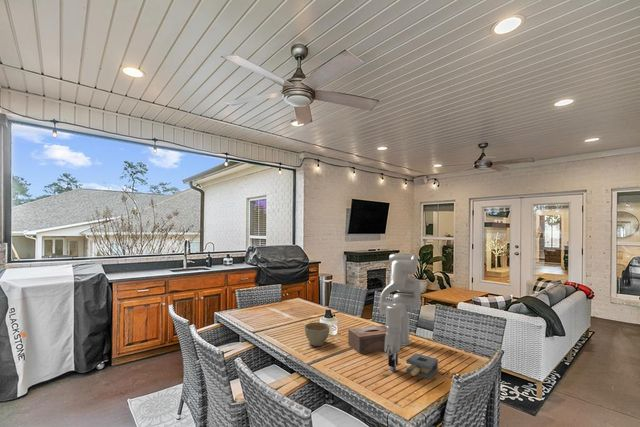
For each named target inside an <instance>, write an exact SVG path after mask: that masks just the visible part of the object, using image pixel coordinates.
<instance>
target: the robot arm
mask: <svg viewBox="0 0 640 427" xmlns="http://www.w3.org/2000/svg"><path fill="white" fill-rule="evenodd" d="M388 260H389V263H390V274H389V283H388V284H387V285H386V286H385V287H384V288H383V289H382V291H381V294H380V295H379V296H380V297H379V304H378V310H379V313H380V314H381V315H383V316H385V326H386V336H385V348H384V350H383V351H384V352H385V353H386V357H387V358H388V363H387V364H388V367H389V368H390V367H393V368H394V367H395V359H394V353H396V366H398V365H399V362H398V361H399V352H400V349H401V346H402V347H405V346H406V347H407V346H410V345H412V340H411V339H410V315H409V312H408V311H407V309H408V310H416V311H417V310H420V309H421V302H422V300H421V298H422V297H421V282H420V280H419V279H418V278H417V277H409V275H411V276H413V275H416V273H417V270H418V265H419V264H418V263H419V258H418V256H417V255H416V254H414V253H413V254H412V253H391V254H390V255H389V257H388ZM393 292H397V293H394V294H393V295H392V301H388V300H386V298H387V297H388V295H389V294H391V293H393ZM390 354H392V355H390Z"/></svg>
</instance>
